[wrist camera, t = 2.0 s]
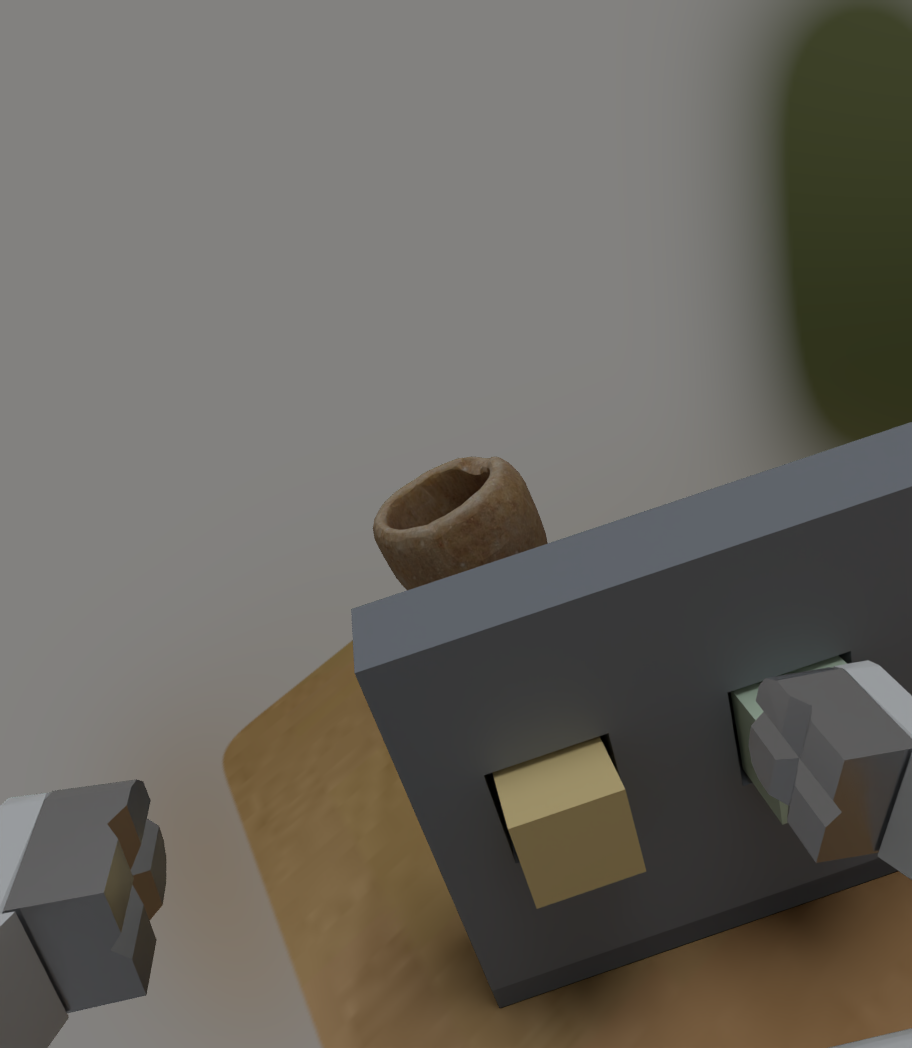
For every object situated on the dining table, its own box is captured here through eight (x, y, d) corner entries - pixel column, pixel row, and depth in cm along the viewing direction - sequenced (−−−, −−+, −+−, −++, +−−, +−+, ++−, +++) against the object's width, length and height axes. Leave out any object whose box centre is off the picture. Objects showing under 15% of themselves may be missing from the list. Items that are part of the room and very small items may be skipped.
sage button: (890, 787, 26) (886, 700, 25) (782, 824, 26) (770, 739, 25) (841, 734, 29) (835, 652, 27) (742, 768, 29) (729, 688, 27)
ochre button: (646, 871, 26) (625, 789, 25) (536, 909, 26) (508, 829, 24) (618, 811, 29) (597, 732, 27) (518, 845, 29) (491, 769, 27)
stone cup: (407, 672, 54) (334, 487, 48) (541, 595, 58) (490, 414, 52) (520, 793, 42) (441, 563, 35) (682, 684, 45) (638, 459, 39)
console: (1126, 791, 32) (1183, 395, 24) (499, 1008, 32) (354, 673, 24) (1012, 704, 38) (1028, 356, 30) (474, 887, 37) (349, 583, 29)
